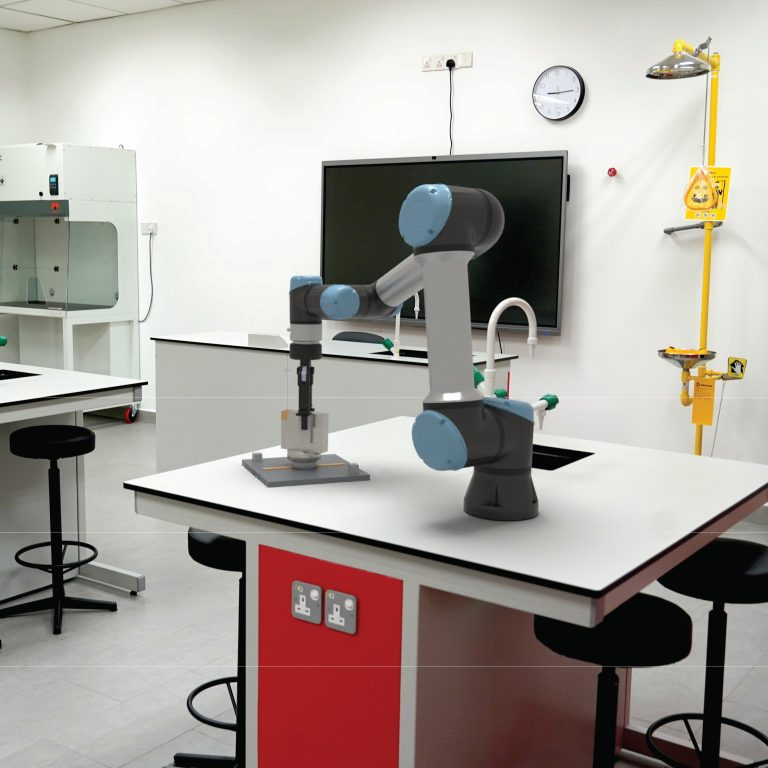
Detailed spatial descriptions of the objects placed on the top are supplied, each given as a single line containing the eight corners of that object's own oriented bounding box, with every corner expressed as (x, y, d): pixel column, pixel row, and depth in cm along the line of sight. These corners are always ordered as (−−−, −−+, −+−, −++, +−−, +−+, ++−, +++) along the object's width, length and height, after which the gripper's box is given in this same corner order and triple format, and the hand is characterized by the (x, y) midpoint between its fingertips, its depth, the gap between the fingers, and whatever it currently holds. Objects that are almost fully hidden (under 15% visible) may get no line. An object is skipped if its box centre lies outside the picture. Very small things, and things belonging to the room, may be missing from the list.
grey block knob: (332, 457, 215) (333, 411, 213) (317, 463, 208) (317, 416, 206) (291, 452, 219) (292, 407, 218) (275, 458, 212) (275, 412, 210)
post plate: (369, 479, 207) (370, 466, 207) (268, 487, 198) (268, 473, 198) (335, 458, 229) (335, 446, 229) (242, 464, 220) (242, 451, 220)
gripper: (292, 339, 219) (292, 434, 221) (286, 344, 201) (286, 448, 204) (323, 339, 219) (322, 434, 222) (320, 345, 201) (319, 448, 204)
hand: (305, 441), depth 213 cm, fingers closed on grey block knob, 4 cm apart
